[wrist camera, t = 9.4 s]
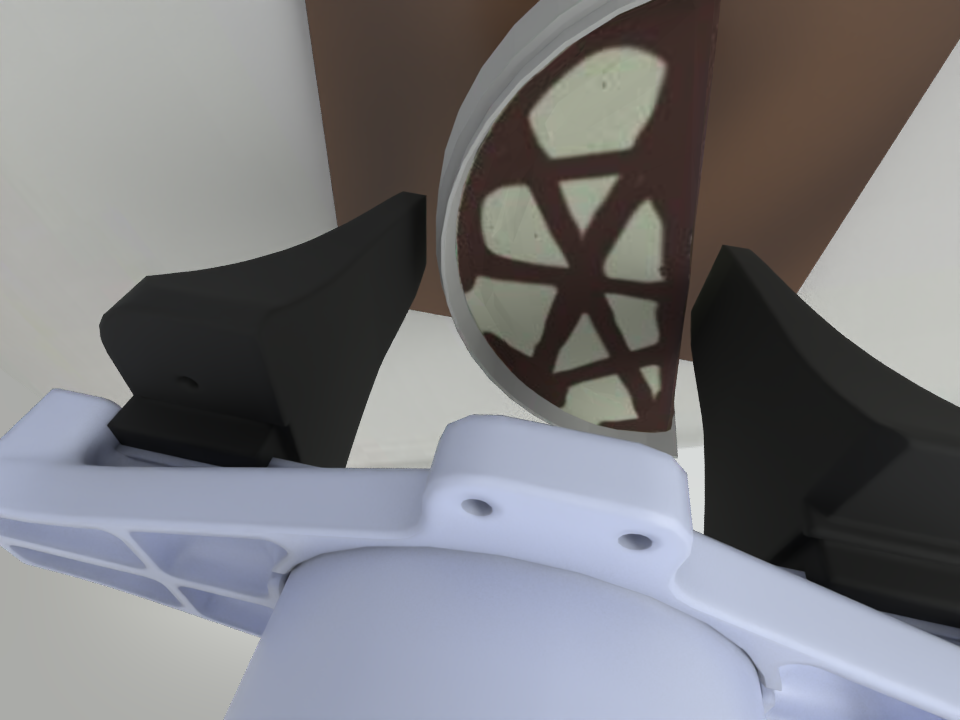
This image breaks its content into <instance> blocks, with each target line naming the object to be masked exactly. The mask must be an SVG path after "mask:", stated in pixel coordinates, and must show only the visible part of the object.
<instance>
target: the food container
mask: <svg viewBox="0 0 960 720" xmlns="http://www.w3.org/2000/svg"><path fill="white" fill-rule="evenodd" d="M720 4H721V0H540V1H539V2H538V3H537V4H536V5H534V6H533V7H532V8H531V9H530V10H529V11H528V12H527V13H526V14H525V15H524V16H523V17H522V18H521V19H520V20H519V21H518V22H517V23H516V24H515V25H514V26H513V27H512V28H511V30H510V31H509V32H508V34H507V35H506V36H505V38H504V39H503V40H502V42H501V43H500V44H499V45H498V47H497V48H496V49H495V51H494V52H493V53H492V55H491V56H490V57H489V59H488V60H487V61H486V63H485V64H484V65H483V66H482V68H481V70H480V72H479V74H478V75H477V77H476V79H475V81H474V83H473V85H472V87H471V88H470V90H469V92H468V94H467V96H466V98H465V100H464V101H463V103H462V105H461V107H460V109H459V112H458V114H457V117H456V120H455V123H454V126H453V129H452V132H451V135H450V138H449V140H448V143H447V146H446V149H445V154H444V160H443V166H442V172H441V178H440V184H439V191H438V202H437V213H436V257H437V262H438V268H439V274H440V279H441V285H442V288H443V291H444V294H445V297H446V301H447V305H448V308H449V310H450V313H451V316H452V318H453V321H454V324H455V327H456V329H457V332H458V333H459V335H460V337H461V339H462V341H463V342H464V344H465V346H466V348H467V349H468V351H469V353H470V355H471V356H472V358H473V359H474V360H475V361H476V363H477V364H478V365H479V366H480V368H481V369H482V370H483V371H484V373H485V374H486V375H487V376H488V378H489V379H490V380H491V381H492V382H493V383H494V384H495V385H497V386H498V387H499V388H500V389H501V390H502V391H503V392H504V393H505V394H506V395H507V396H508V397H509V398H510V399H512V400H513V401H515V402H516V403H517V404H519V405H520V406H522V407H523V408H524V409H526V410H527V411H529V412H530V413H531V414H533V415H534V416H536V417H538V418H540V419H542V420H543V421H545V422H547V423H549V424H551V425H553V426H558V427H563V428H568V429H573V430H578V431H583V432H588V433H593V434H598V435H603V436H608V437H613V438H618V439H623V440H628V441H633V442H638V443H641V444H644V445H647V446H649V447H652V448H654V449H657V450H660V451H662V452H665V453H667V454H669V455H671V456H672V457H673V458H677V457H678V453H677V439H676V424H675V410H674V397H675V387H676V379H677V372H678V364H679V356H680V348H681V339H682V332H683V325H684V318H685V311H686V305H687V298H688V291H689V284H690V275H691V264H692V254H693V243H694V233H695V223H696V214H697V206H698V197H699V189H700V180H701V172H702V163H703V155H704V146H705V138H706V129H707V121H708V112H709V103H710V95H711V86H712V78H713V69H714V61H715V51H716V42H717V32H718V23H719V13H720Z"/></svg>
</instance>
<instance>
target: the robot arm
mask: <svg viewBox="0 0 960 720" xmlns="http://www.w3.org/2000/svg"><path fill="white" fill-rule="evenodd" d="M426 264H427V235H426V195H422V194H416V193H410V192H404V191H402V192H400V193H398V194H396V195H394V196H393V197H391V198H389V199H387V200H386V201H384V202H382V203H381V204H379V205H377V206H375V207H374V208H372V209H370V210H369V211H367V212H365V213H363V214H362V215H360V216H358V217H356V218H355V219H353V220H351V221H349V222H347V223H345V224H343V225H341V226H339V227H337V228H335V229H333V230H331V231H329V232H327V233H325V234H323V235H321V236H319V237H317V238H315V239H312V240H310V241H307V242H305V243H302V244H300V245H297V246H294V247H292V248H289V249H286V250H283V251H280V252H276V253H273V254H269V255H266V256H262V257H259V258H255V259H252V260H248V261H244V262H240V263H235V264H231V265H226V266H220V267H215V268H209V269H203V270H197V271H189V272H180V273H171V274H163V275H153V276H146V277H145V278H144V279H143V280H142V281H140V282H139V283H138V284H137V285H136V286H135V287H134V288H133V289H132V290H130V291H129V292H128V293H127V294H126V295H125V296H124V297H123V298H122V299H121V300H119V301H118V302H117V303H116V304H115V305H114V306H113V307H112V308H111V309H110V310H108V311H107V312H106V313H105V314H104V315H103V317H102V319H101V322H100V324H99V328H100V337H101V340H102V343H103V345H104V347H105V349H106V351H107V353H108V355H109V356H110V358H111V360H112V361H113V363H114V364H115V366H116V368H117V369H118V371H119V372H120V374H121V376H122V377H123V379H124V380H125V382H126V384H127V385H128V387H129V388H130V390H131V392H132V393H133V395H134V396H133V397H132V398H131V399H130V400H129V401H128V402H127V403H126V405H125V406H124V407H123V408H121V407H120V406H119V405H118V404H116V403H114V402H113V401H111V400H108V399H105V398H102V397H97V396H92V395H88V394H83V393H78V392H74V391H69V390H64V389H52V390H51V391H50V392H49V393H48V394H47V395H46V396H45V397H43V398H42V399H41V400H40V401H39V402H38V403H37V404H36V405H35V406H34V407H33V408H32V409H31V410H30V411H29V412H28V413H27V414H26V415H25V416H24V417H22V418H21V419H20V420H19V421H18V422H17V423H16V424H15V425H14V426H13V427H12V428H11V429H10V430H9V431H8V432H7V433H6V434H5V435H4V436H3V437H1V438H0V546H1V547H3V548H4V549H5V550H7V551H8V552H9V553H11V554H12V555H13V556H15V557H16V558H17V559H19V560H20V561H21V562H23V563H24V564H27V565H31V566H35V567H39V568H42V569H47V570H50V571H54V572H58V573H61V574H65V575H69V576H73V577H76V578H80V579H83V580H87V581H90V582H93V583H97V584H100V585H104V586H107V587H110V588H113V589H117V590H120V591H123V592H126V593H129V594H132V595H135V596H138V597H141V598H145V599H147V600H151V601H153V602H157V603H159V604H163V605H165V606H168V607H171V608H174V609H177V610H180V611H183V612H186V613H189V614H192V615H195V616H198V617H201V618H204V619H207V620H210V621H213V622H216V623H219V624H222V625H224V626H227V627H230V628H234V629H236V630H239V631H242V632H246V633H248V634H252V635H254V636H257V637H260V638H261V639H260V641H259V643H258V645H257V647H256V649H255V652H254V654H253V656H252V658H251V660H250V663H249V665H248V667H247V669H246V671H245V674H244V676H243V678H242V680H241V683H240V685H239V687H238V689H237V691H236V693H235V696H234V698H233V700H232V702H231V704H230V706H229V709H228V711H227V713H226V715H225V717H224V719H223V720H960V407H958V406H956V405H954V404H952V403H950V402H948V401H946V400H944V399H942V398H940V397H938V396H936V395H935V394H933V393H931V392H929V391H927V390H926V389H924V388H922V387H920V386H918V385H917V384H915V383H913V382H912V381H910V380H908V379H907V378H905V377H903V376H902V375H900V374H899V373H897V372H895V371H894V370H892V369H890V368H889V367H887V366H886V365H884V364H883V363H881V362H880V361H878V360H877V359H875V358H874V357H872V356H871V355H869V354H868V353H867V352H865V351H864V350H862V349H861V348H860V347H858V346H857V345H856V344H854V343H853V342H851V341H850V340H849V339H847V338H846V337H845V336H843V335H842V334H841V333H840V332H838V331H837V330H836V329H835V328H834V327H832V326H831V325H830V324H829V323H828V322H827V321H825V320H824V319H823V318H822V317H821V316H820V315H818V314H817V313H816V312H815V311H814V310H813V309H812V308H811V307H810V306H809V305H807V304H806V303H805V302H804V301H803V300H802V299H801V298H800V297H799V296H798V295H797V294H796V293H795V292H794V291H793V290H792V289H791V288H790V287H789V286H788V285H787V284H786V283H785V282H784V281H783V280H782V279H781V278H780V277H779V276H778V275H777V274H776V273H775V272H774V271H773V270H772V269H771V268H770V267H769V266H768V265H767V264H766V263H765V262H764V261H763V260H762V259H761V258H759V257H758V256H757V255H756V254H755V253H754V252H752V251H751V250H750V249H746V248H740V247H734V246H728V245H722V247H721V249H720V251H719V253H718V255H717V258H716V260H715V262H714V264H713V266H712V268H711V270H710V272H709V274H708V276H707V278H706V281H705V283H704V285H703V287H702V289H701V291H700V293H699V295H698V297H697V299H696V302H695V304H694V306H693V308H692V310H691V327H690V337H691V352H692V358H693V365H694V372H695V378H696V384H697V390H698V396H699V402H700V408H701V414H702V422H703V431H704V458H705V515H704V534H702V533H699V532H697V531H695V530H693V527H692V518H691V508H690V498H689V488H688V480H687V479H688V478H687V473H686V472H685V471H684V469H683V468H682V467H681V466H680V465H679V464H678V463H677V461H676V460H675V459H674V458H673V457H672V456H671V455H669V454H667V453H665V452H662V451H660V450H657V449H654V448H652V447H649V446H647V445H644V444H641V443H638V442H633V441H628V440H623V439H618V438H613V437H608V436H603V435H598V434H593V433H588V432H583V431H578V430H573V429H568V428H563V427H558V426H553V425H549V424H544V423H539V422H534V421H529V420H524V419H519V418H514V417H509V416H504V415H478V414H474V415H470V416H467V417H465V418H462V419H460V420H457V421H455V422H452V423H450V424H447V426H446V428H445V430H444V432H443V434H442V436H441V438H440V440H439V442H438V446H437V449H436V452H435V455H434V458H433V462H432V465H431V468H430V469H423V468H345V467H346V464H347V461H348V458H349V454H350V451H351V448H352V445H353V442H354V439H355V436H356V433H357V429H358V427H359V424H360V421H361V418H362V415H363V412H364V409H365V406H366V403H367V401H368V398H369V395H370V392H371V390H372V387H373V384H374V381H375V379H376V376H377V373H378V371H379V368H380V366H381V364H382V362H383V359H384V357H385V355H386V353H387V351H388V349H389V347H390V345H391V343H392V342H393V340H394V338H395V336H396V334H397V332H398V330H399V328H400V326H401V324H402V322H403V320H404V318H405V316H406V314H407V312H408V310H409V308H410V306H411V304H412V302H413V300H414V298H415V296H416V294H417V291H418V288H419V286H420V283H421V280H422V277H423V274H424V270H425V267H426Z"/></svg>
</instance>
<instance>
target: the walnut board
mask: <svg viewBox="0 0 960 720" xmlns="http://www.w3.org/2000/svg"><path fill="white" fill-rule="evenodd" d="M539 1H540V0H305V3H306V10H307V17H308V24H309V31H310V37H311V44H312V51H313V58H314V65H315V72H316V79H317V86H318V93H319V100H320V107H321V114H322V121H323V128H324V135H325V142H326V148H327V155H328V162H329V169H330V176H331V183H332V190H333V197H334V204H335V211H336V218H337V225H338V227H339V226H341V225H343V224H345V223H347V222H349V221H351V220H353V219H355V218H356V217H358V216H360V215H362V214H363V213H365V212H367V211H369V210H370V209H372V208H374V207H375V206H377V205H379V204H381V203H382V202H384V201H386V200H387V199H389V198H391V197H393V196H394V195H396V194H398V193H400V192H402V191H404V192H410V193H416V194H422V195H426V235H427V264H426V267H425V270H424V274H423V277H422V280H421V283H420V286H419V288H418V291H417V294H416V296H415V298H414V300H413V302H412V304H411V306H410V308H409V309H410V310H416V311H421V312H427V313H432V314H437V315H443V316H448V317H452V316H451V313H450V310H449V308H448V305H447V301H446V297H445V294H444V291H443V288H442V285H441V279H440V274H439V268H438V262H437V257H436V213H437V202H438V191H439V184H440V178H441V172H442V166H443V160H444V154H445V149H446V146H447V143H448V140H449V138H450V135H451V132H452V129H453V126H454V123H455V120H456V117H457V114H458V112H459V109H460V107H461V105H462V103H463V101H464V100H465V98H466V96H467V94H468V92H469V90H470V88H471V87H472V85H473V83H474V81H475V79H476V77H477V75H478V74H479V72H480V70H481V68H482V66H483V65H484V64H485V63H486V61H487V60H488V59H489V57H490V56H491V55H492V53H493V52H494V51H495V49H496V48H497V47H498V45H499V44H500V43H501V42H502V40H503V39H504V38H505V36H506V35H507V34H508V32H509V31H510V30H511V28H512V27H513V26H514V25H515V24H516V23H517V22H518V21H519V20H520V19H521V18H522V17H523V16H524V15H525V14H526V13H527V12H528V11H529V10H530V9H531V8H532V7H533V6H534V5H536V4H537V3H538V2H539ZM959 39H960V0H721V4H720V13H719V23H718V32H717V42H716V51H715V61H714V69H713V78H712V86H711V95H710V103H709V112H708V121H707V129H706V138H705V146H704V155H703V163H702V172H701V180H700V189H699V197H698V206H697V214H696V223H695V233H694V243H693V254H692V264H691V275H690V284H689V291H688V298H687V305H686V311H685V318H684V325H683V332H682V339H681V348H680V356H679V359H682V360H687V361H693V358H692V352H691V337H690V327H691V310H692V308H693V306H694V304H695V302H696V299H697V297H698V295H699V293H700V291H701V289H702V287H703V285H704V283H705V281H706V278H707V276H708V274H709V272H710V270H711V268H712V266H713V264H714V262H715V260H716V258H717V255H718V253H719V251H720V249H721V247H722V245H728V246H734V247H740V248H746V249H750V250H751V251H752V252H754V253H755V254H756V255H757V256H758V257H759V258H761V259H762V260H763V261H764V262H765V263H766V264H767V265H768V266H769V267H770V268H771V269H772V270H773V271H774V272H775V273H776V274H777V275H778V276H779V277H780V278H781V279H782V280H783V281H784V282H785V283H786V284H787V285H788V286H789V287H790V288H791V289H792V290H793V291H794V292H795V293H796V294H797V292H798V291H799V289H800V288H801V286H802V284H803V283H804V281H805V280H806V278H807V277H808V275H809V273H810V272H811V270H812V269H813V267H814V266H815V264H816V263H817V261H818V259H819V258H820V256H821V255H822V253H823V252H824V250H825V249H826V247H827V245H828V244H829V242H830V241H831V239H832V238H833V236H834V234H835V233H836V231H837V230H838V228H839V227H840V225H841V224H842V222H843V220H844V219H845V217H846V216H847V214H848V213H849V211H850V209H851V208H852V206H853V205H854V203H855V202H856V200H857V199H858V197H859V195H860V194H861V192H862V191H863V189H864V188H865V186H866V184H867V183H868V181H869V180H870V178H871V177H872V175H873V174H874V172H875V170H876V169H877V167H878V166H879V164H880V163H881V161H882V159H883V158H884V156H885V155H886V153H887V152H888V150H889V149H890V147H891V145H892V144H893V142H894V141H895V139H896V138H897V136H898V134H899V133H900V131H901V130H902V128H903V127H904V125H905V124H906V122H907V120H908V119H909V117H910V116H911V114H912V113H913V111H914V109H915V108H916V106H917V105H918V103H919V102H920V100H921V99H922V97H923V95H924V94H925V92H926V91H927V89H928V88H929V86H930V84H931V83H932V81H933V80H934V78H935V77H936V75H937V74H938V72H939V70H940V69H941V67H942V66H943V64H944V63H945V61H946V59H947V58H948V56H949V55H950V53H951V52H952V50H953V49H954V47H955V45H956V44H957V42H958V41H959Z"/></svg>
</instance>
